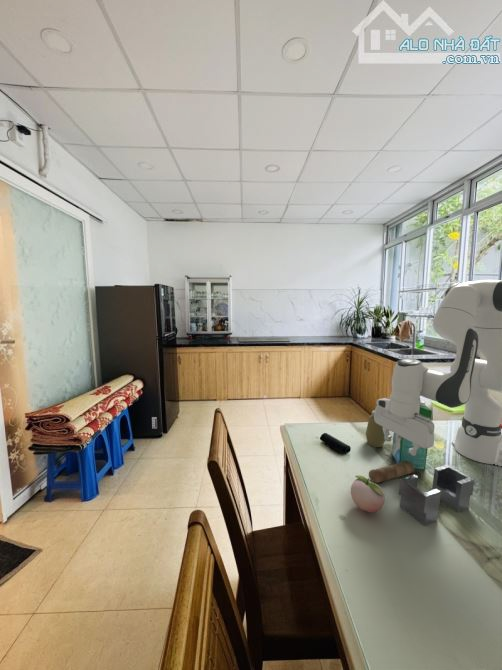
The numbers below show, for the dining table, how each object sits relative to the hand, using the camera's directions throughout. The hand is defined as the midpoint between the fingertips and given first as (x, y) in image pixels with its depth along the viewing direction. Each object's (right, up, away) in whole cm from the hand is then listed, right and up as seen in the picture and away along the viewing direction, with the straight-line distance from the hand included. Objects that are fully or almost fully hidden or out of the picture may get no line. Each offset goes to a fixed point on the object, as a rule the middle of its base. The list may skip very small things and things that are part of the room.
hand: (399, 447), depth 92 cm
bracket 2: (+11, -14, -8) cm, 19 cm away
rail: (0, -11, +2) cm, 11 cm away
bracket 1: (-2, -14, -13) cm, 19 cm away
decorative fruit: (-17, -14, -13) cm, 25 cm away
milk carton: (+10, -11, +13) cm, 20 cm away
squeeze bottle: (+3, -9, +25) cm, 27 cm away
